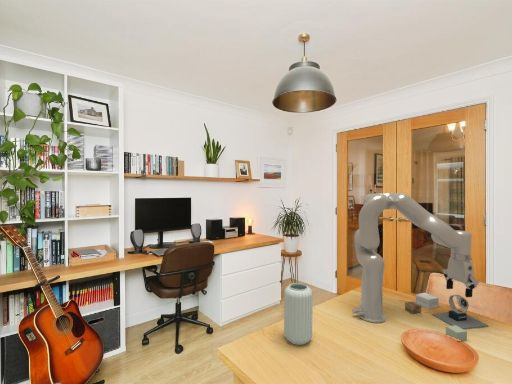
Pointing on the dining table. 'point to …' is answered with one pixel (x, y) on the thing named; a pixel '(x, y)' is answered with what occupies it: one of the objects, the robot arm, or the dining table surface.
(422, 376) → the dining table surface
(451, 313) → the watch
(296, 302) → the vase
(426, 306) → the small box
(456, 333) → the sage block
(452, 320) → the slate mat
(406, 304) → the walnut block
